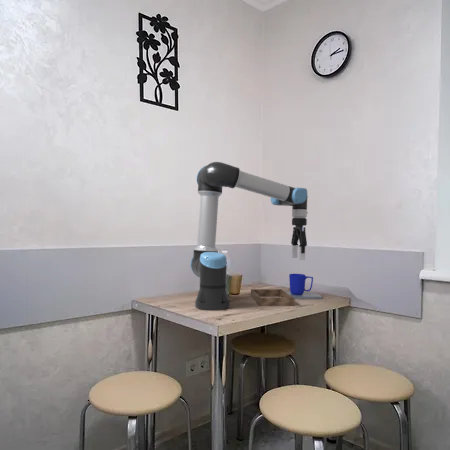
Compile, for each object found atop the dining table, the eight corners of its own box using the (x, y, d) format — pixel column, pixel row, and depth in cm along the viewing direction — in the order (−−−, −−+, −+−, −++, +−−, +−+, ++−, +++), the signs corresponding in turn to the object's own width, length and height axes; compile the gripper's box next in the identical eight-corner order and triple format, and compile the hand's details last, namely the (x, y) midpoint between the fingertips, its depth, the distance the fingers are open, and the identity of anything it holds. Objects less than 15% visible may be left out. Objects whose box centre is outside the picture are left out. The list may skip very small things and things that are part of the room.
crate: (259, 305, 162) (259, 297, 162) (250, 296, 185) (250, 289, 185) (293, 305, 163) (293, 298, 163) (281, 296, 186) (281, 289, 186)
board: (287, 299, 179) (287, 296, 179) (280, 293, 193) (280, 291, 193) (322, 299, 180) (322, 296, 180) (312, 293, 194) (312, 291, 194)
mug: (313, 296, 181) (313, 276, 181) (288, 295, 183) (289, 275, 183) (312, 293, 189) (312, 274, 189) (288, 292, 191) (289, 273, 191)
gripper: (314, 217, 175) (313, 261, 175) (299, 218, 200) (298, 256, 200) (299, 216, 175) (297, 260, 174) (286, 218, 200) (285, 256, 199)
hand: (298, 258), depth 187 cm, fingers open, 13 cm apart
